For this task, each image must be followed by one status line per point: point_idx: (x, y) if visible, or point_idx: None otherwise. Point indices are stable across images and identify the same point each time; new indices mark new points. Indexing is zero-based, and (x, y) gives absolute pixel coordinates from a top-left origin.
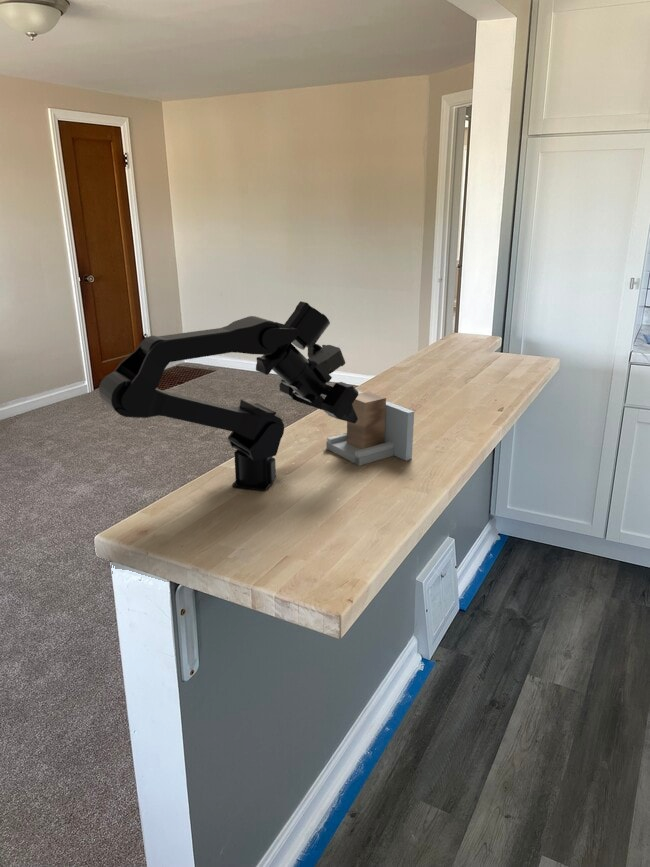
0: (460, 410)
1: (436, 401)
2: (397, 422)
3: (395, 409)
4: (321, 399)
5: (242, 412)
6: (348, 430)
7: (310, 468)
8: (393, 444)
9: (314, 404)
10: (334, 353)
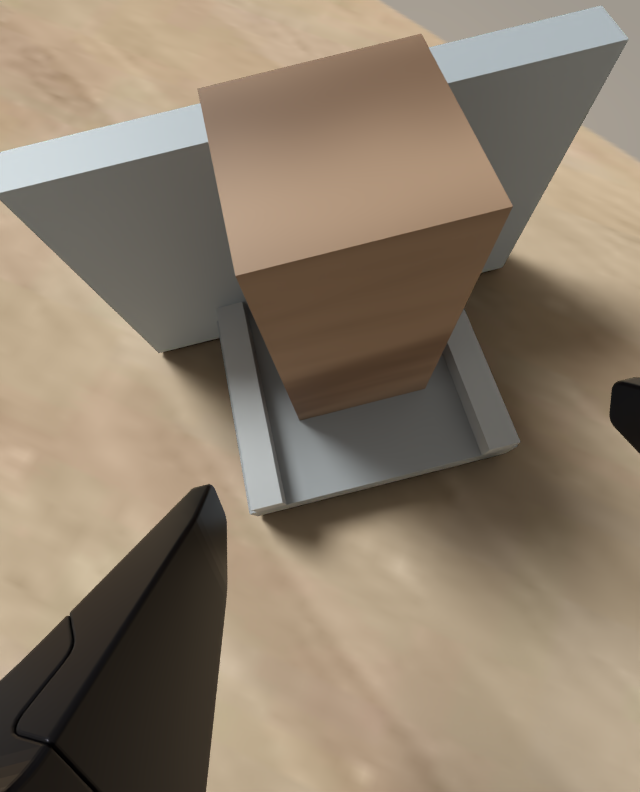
0: None
1: (36, 5)
2: (493, 153)
3: (496, 80)
4: (177, 587)
5: None
6: (304, 395)
7: (460, 702)
8: None
9: (204, 697)
10: None
